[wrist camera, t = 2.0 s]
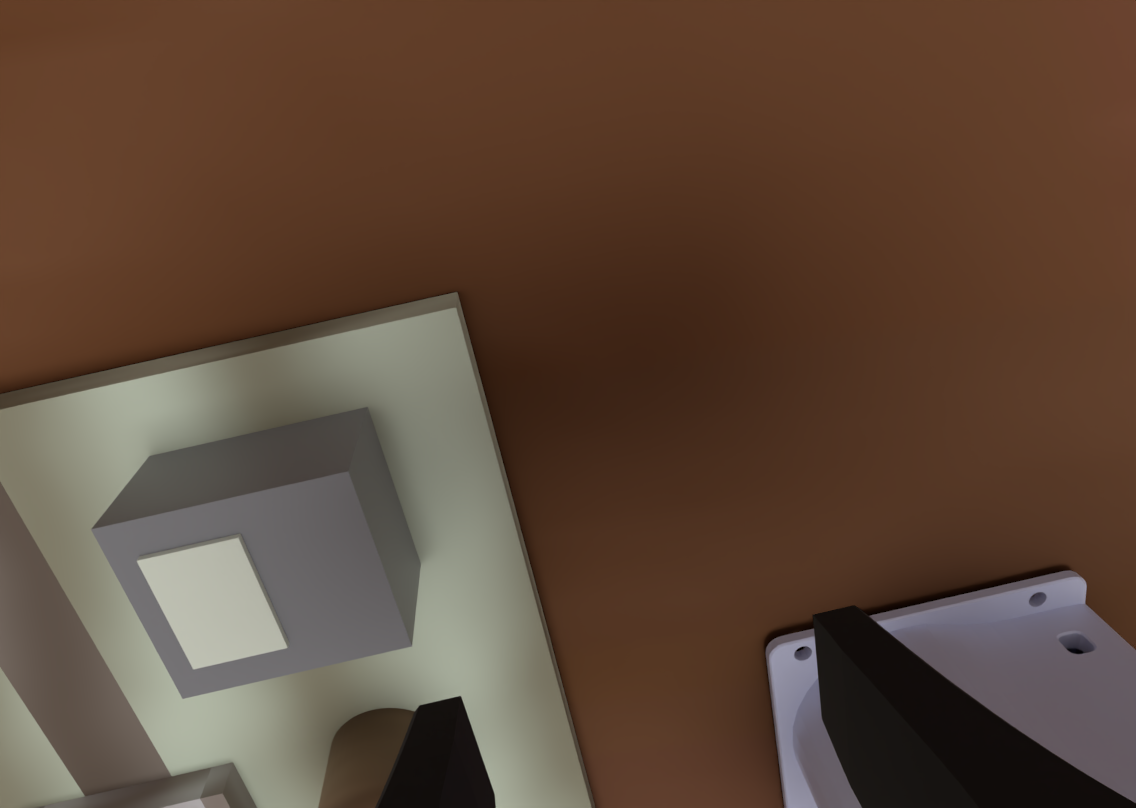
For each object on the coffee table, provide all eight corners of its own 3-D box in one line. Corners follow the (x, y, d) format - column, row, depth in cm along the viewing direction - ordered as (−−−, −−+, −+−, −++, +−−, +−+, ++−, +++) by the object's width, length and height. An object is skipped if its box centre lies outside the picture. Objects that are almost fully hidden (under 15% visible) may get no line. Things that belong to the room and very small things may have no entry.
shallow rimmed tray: (457, 291, 18) (454, 321, 16) (609, 858, 27) (619, 923, 25) (-233, 446, 18) (-319, 495, 16) (138, 967, 27) (111, 1042, 25)
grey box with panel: (367, 407, 18) (346, 475, 15) (421, 563, 20) (411, 650, 17) (149, 455, 18) (87, 534, 15) (223, 609, 20) (180, 704, 17)
